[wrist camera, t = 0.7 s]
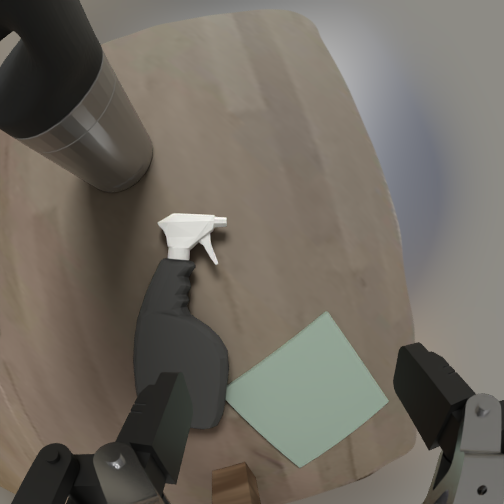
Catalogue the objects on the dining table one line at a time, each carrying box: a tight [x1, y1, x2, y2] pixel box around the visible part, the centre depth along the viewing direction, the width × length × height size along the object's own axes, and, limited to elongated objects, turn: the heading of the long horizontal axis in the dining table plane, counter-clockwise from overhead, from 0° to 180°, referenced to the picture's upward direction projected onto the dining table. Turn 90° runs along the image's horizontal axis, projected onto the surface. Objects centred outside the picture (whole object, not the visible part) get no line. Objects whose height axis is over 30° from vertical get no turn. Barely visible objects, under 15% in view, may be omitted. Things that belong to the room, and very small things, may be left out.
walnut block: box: [212, 462, 261, 504], centre depth 25 cm, size 4×5×11 cm
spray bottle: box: [133, 213, 229, 429], centre depth 29 cm, size 3×11×25 cm
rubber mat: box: [225, 311, 389, 468], centre depth 32 cm, size 18×16×1 cm
